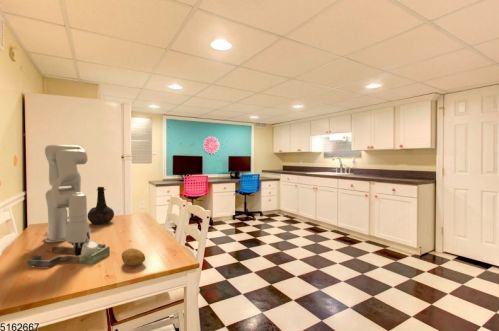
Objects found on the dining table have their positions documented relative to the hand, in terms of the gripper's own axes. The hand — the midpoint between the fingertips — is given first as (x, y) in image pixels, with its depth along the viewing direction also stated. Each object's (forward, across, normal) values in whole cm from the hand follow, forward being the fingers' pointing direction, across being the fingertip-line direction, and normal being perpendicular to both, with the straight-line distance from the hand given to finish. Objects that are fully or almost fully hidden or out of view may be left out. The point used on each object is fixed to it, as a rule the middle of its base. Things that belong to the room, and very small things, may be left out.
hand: (78, 254), depth 131 cm
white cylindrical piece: (+1, +4, 0) cm, 4 cm away
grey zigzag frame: (+2, -4, 0) cm, 5 cm away
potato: (+2, +31, -4) cm, 31 cm away
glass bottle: (+2, -34, +65) cm, 73 cm away
